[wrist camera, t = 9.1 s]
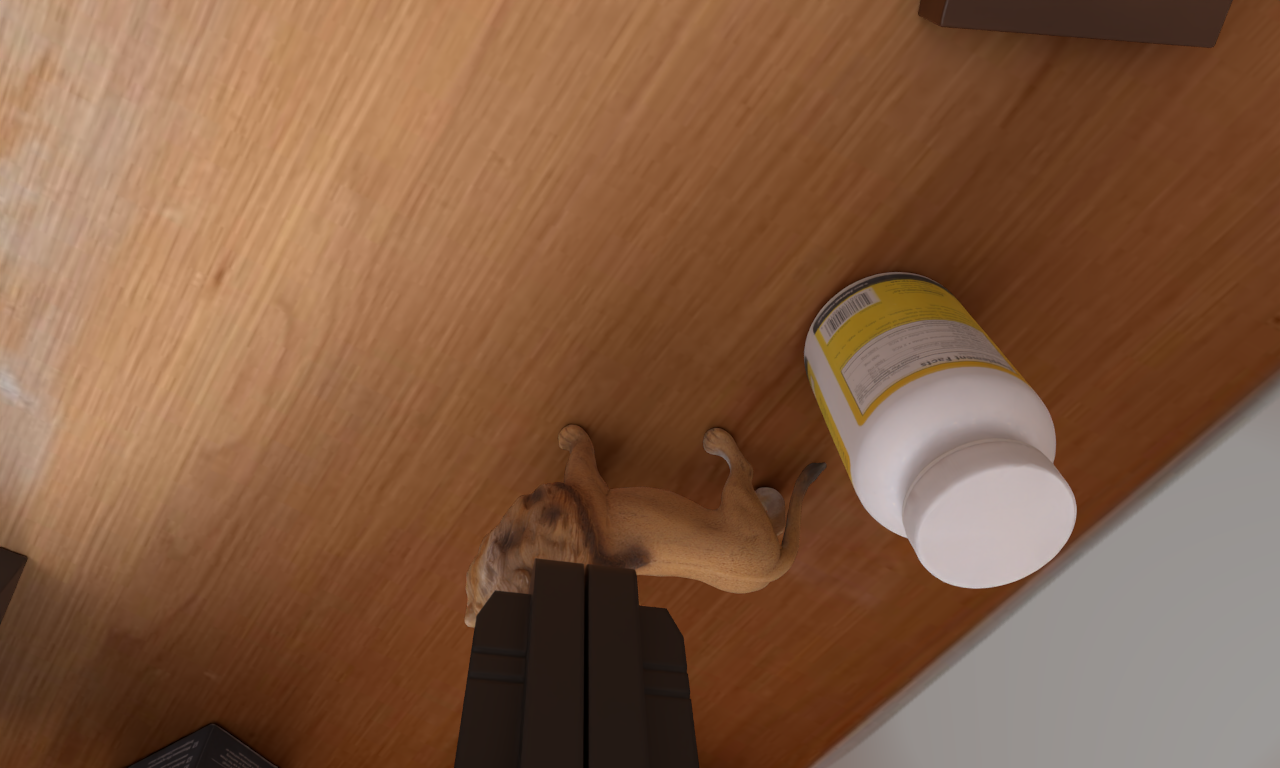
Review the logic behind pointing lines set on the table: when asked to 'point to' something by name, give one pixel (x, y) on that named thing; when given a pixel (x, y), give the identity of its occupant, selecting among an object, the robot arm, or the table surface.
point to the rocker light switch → (1089, 18)
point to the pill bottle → (939, 430)
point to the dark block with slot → (9, 576)
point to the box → (206, 752)
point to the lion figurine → (643, 528)
